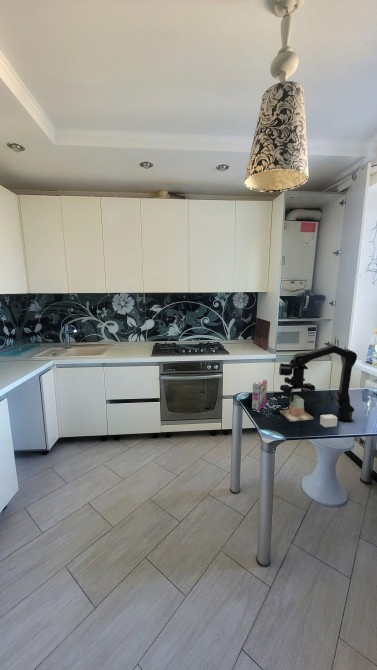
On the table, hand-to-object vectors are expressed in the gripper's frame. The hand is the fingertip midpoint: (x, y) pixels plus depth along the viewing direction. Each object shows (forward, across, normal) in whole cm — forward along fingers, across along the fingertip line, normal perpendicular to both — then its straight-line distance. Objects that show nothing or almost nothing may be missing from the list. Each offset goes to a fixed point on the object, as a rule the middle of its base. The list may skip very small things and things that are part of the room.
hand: (296, 402), depth 149 cm
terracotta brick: (+7, 0, 0) cm, 7 cm away
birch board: (+8, 0, 0) cm, 8 cm away
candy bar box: (+8, +16, -15) cm, 24 cm away
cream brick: (+8, -11, +13) cm, 19 cm away
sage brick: (+2, 0, 0) cm, 2 cm away
